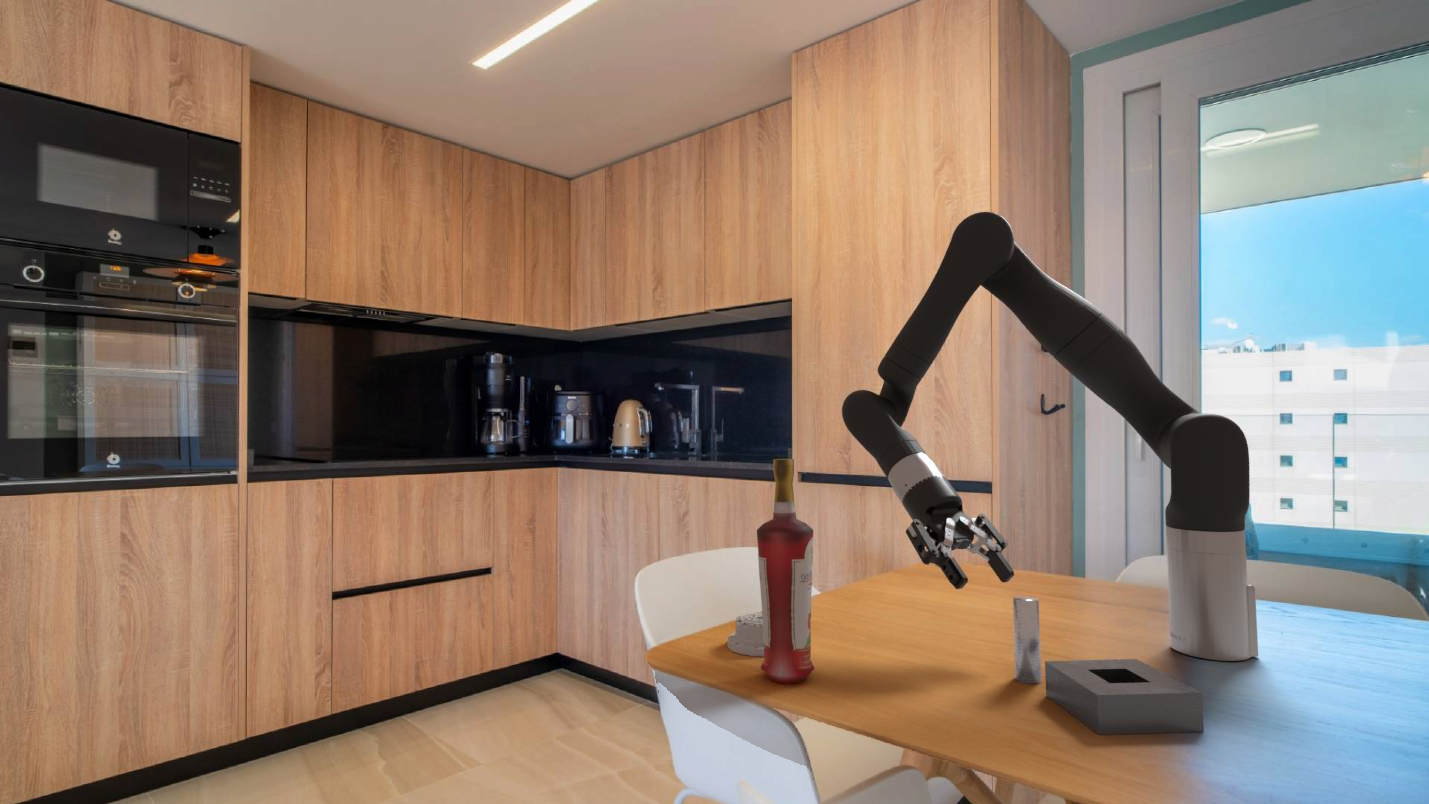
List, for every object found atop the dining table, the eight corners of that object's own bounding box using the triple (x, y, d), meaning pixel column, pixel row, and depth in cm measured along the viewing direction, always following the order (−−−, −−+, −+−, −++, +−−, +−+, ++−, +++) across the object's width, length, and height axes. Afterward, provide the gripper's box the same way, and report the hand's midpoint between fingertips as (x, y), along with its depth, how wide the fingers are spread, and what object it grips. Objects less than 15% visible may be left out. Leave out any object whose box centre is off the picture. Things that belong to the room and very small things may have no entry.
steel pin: (1034, 675, 92) (1031, 596, 92) (1046, 683, 89) (1043, 601, 89) (1011, 675, 91) (1008, 596, 92) (1022, 684, 88) (1019, 602, 89)
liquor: (768, 665, 97) (764, 458, 98) (821, 671, 94) (817, 458, 95) (751, 683, 90) (748, 460, 91) (808, 690, 87) (804, 460, 89)
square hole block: (1137, 693, 85) (1136, 658, 85) (1203, 731, 74) (1201, 692, 74) (1046, 695, 84) (1044, 661, 85) (1098, 734, 73) (1097, 695, 74)
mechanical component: (721, 656, 102) (791, 660, 100) (721, 625, 102) (791, 628, 100) (734, 636, 112) (798, 639, 110) (733, 608, 112) (797, 610, 110)
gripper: (898, 475, 101) (961, 570, 91) (971, 472, 108) (1039, 560, 97) (874, 510, 106) (932, 604, 95) (946, 504, 112) (1008, 592, 101)
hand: (986, 582), depth 96 cm, fingers open, 8 cm apart
